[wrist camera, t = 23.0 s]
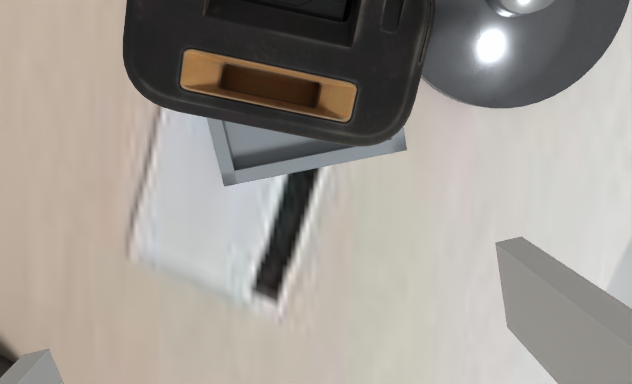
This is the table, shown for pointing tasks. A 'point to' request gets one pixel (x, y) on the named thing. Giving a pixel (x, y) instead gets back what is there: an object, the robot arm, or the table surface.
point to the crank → (517, 6)
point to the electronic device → (283, 62)
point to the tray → (282, 151)
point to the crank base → (516, 49)
